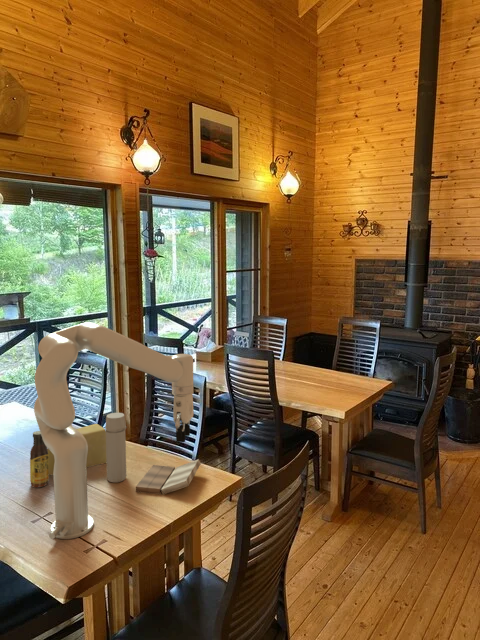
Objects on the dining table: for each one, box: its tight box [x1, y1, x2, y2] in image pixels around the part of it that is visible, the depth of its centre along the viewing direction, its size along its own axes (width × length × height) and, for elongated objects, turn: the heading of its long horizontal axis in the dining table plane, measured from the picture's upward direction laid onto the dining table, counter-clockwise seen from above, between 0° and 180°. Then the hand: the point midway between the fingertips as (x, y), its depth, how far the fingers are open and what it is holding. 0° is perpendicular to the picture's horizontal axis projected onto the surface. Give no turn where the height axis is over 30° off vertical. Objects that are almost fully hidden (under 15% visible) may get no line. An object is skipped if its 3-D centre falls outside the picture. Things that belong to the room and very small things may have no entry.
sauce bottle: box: [29, 430, 50, 489], centre depth 174 cm, size 6×6×20 cm
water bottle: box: [104, 412, 127, 483], centre depth 180 cm, size 9×8×25 cm
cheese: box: [47, 423, 107, 476], centre depth 189 cm, size 22×10×15 cm, turn 130°
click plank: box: [161, 458, 201, 495], centre depth 177 cm, size 18×10×2 cm, turn 170°
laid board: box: [135, 464, 176, 495], centre depth 179 cm, size 18×9×2 cm, turn 170°
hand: (183, 438), depth 170 cm, fingers open, 5 cm apart
